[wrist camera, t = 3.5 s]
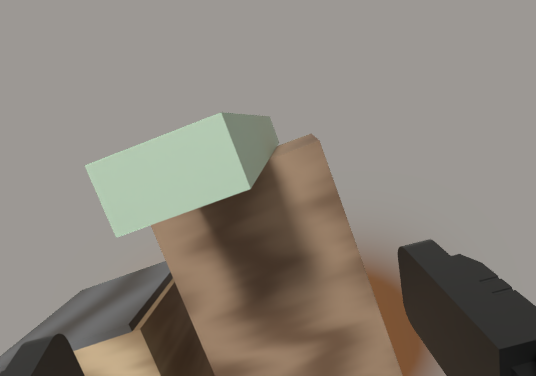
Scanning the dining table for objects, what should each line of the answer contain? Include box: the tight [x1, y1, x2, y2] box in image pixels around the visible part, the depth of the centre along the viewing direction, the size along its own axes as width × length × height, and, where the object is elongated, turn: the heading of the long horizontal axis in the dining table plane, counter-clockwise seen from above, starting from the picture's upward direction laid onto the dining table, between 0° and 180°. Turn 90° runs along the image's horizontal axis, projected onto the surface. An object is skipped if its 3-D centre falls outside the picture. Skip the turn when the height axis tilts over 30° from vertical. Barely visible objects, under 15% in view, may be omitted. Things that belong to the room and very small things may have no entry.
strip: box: [85, 113, 279, 237], centre depth 24 cm, size 4×24×2 cm, turn 177°
